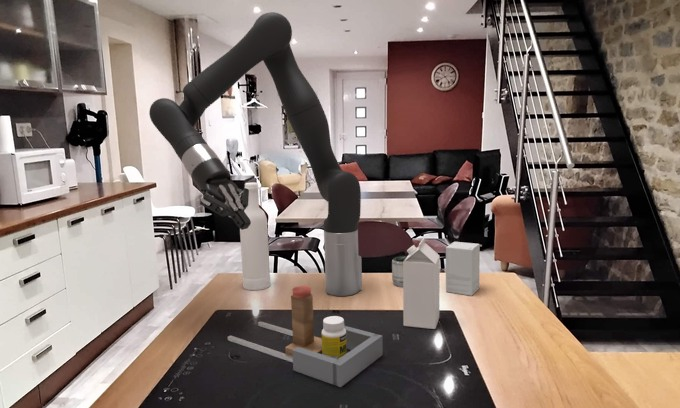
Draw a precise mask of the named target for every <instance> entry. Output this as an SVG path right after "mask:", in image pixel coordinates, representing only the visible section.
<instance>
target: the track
mask: <svg viewBox="0 0 680 408" xmlns="http://www.w3.org/2000/svg"><path fill="white" fill-rule="evenodd" d="M257 326H258V327H261V328H264V329H268V330H270V331H274V332H277V333H281V334H284V335H288V336H291V337H293V330H291V329H288V328H284V327H281V326H278V325H274V324H271V323H268V322H264V321H258V322H257ZM227 341H229V342H231V343H234V344H237V345H240V346H243V347H247V348H249V349H251V350H254V351H258V352H260V353H264V354H266V355H269V356H272V357H275V358H278V359H281V360H284V361H286V362H290V363H292V364H293V356H290V355H288V354H286V353H284V352H282V351H278V350H275V349H272V348H269V347H266V346H263V345H260V344H258V343H254V342H251V341H250V340H249V341H247V340H245V339H243V338H239V337H236V336H233V335H229V336H227Z"/></svg>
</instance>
